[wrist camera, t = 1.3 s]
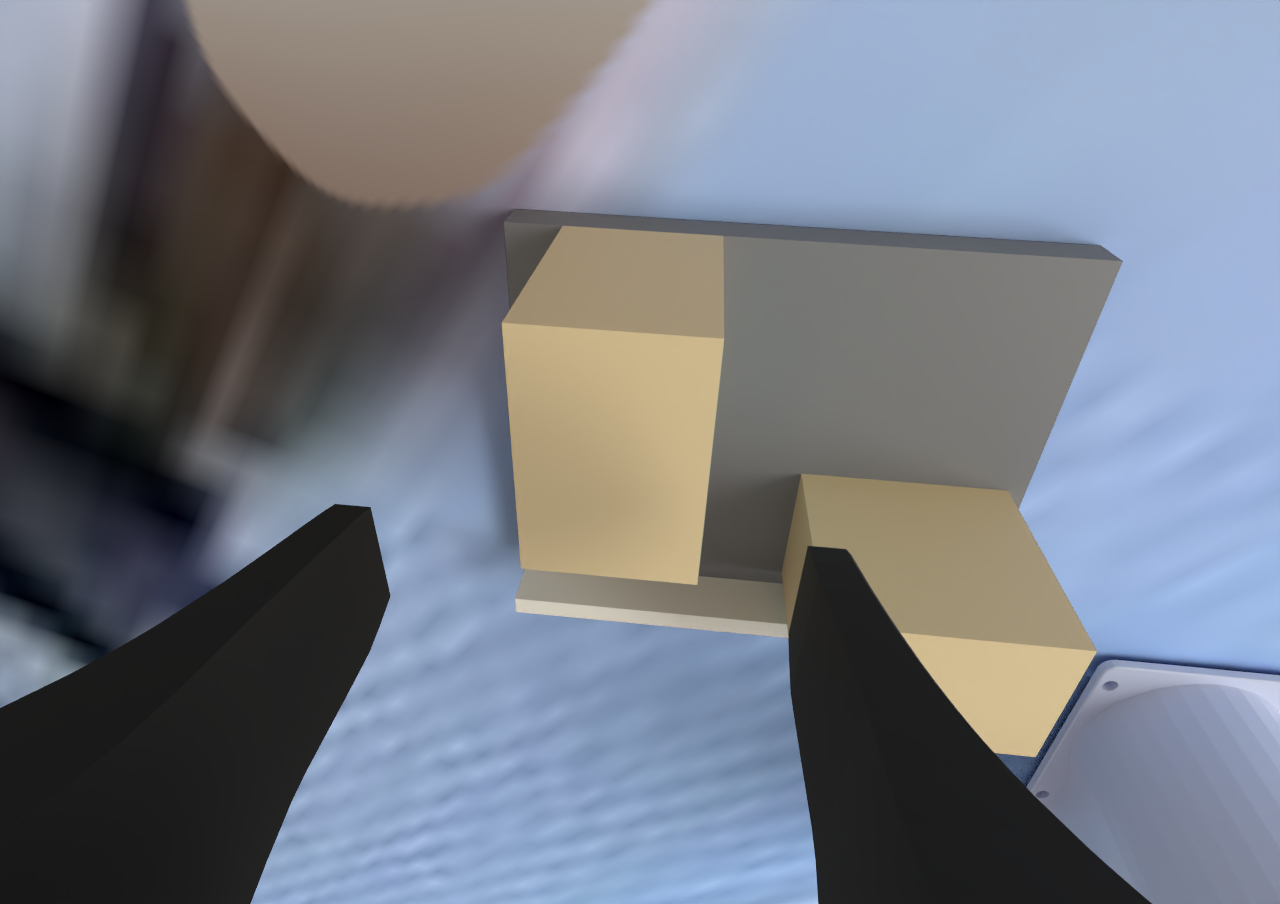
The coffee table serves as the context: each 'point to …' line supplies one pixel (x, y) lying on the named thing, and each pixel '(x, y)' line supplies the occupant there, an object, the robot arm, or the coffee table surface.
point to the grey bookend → (846, 388)
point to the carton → (616, 401)
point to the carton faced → (955, 595)
